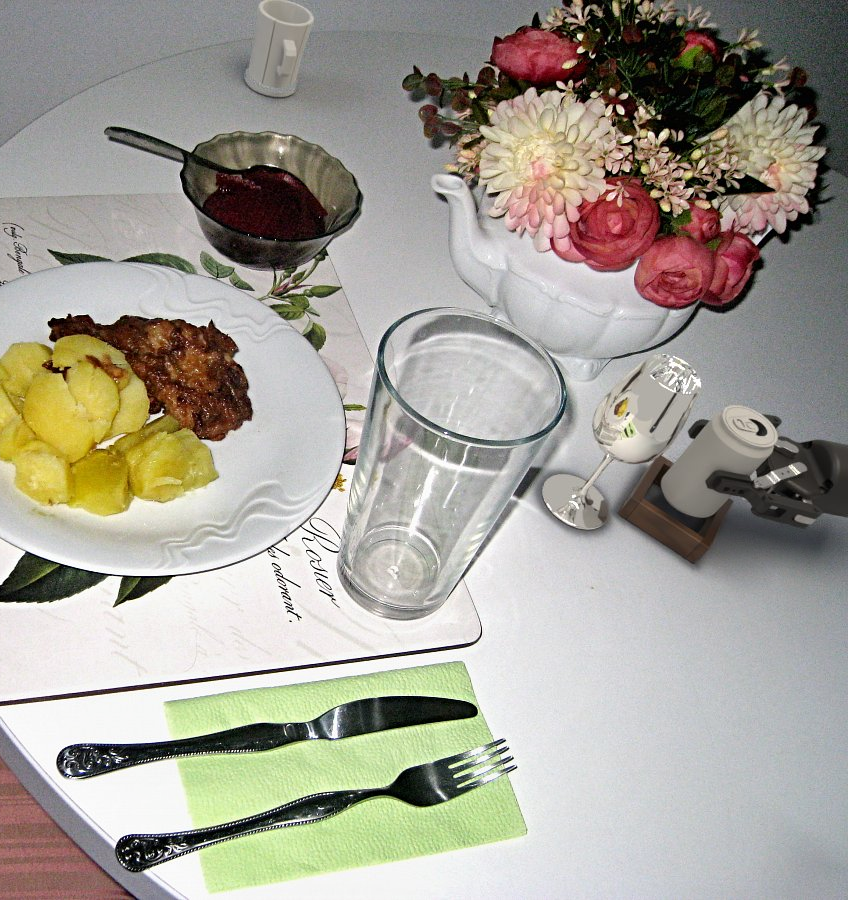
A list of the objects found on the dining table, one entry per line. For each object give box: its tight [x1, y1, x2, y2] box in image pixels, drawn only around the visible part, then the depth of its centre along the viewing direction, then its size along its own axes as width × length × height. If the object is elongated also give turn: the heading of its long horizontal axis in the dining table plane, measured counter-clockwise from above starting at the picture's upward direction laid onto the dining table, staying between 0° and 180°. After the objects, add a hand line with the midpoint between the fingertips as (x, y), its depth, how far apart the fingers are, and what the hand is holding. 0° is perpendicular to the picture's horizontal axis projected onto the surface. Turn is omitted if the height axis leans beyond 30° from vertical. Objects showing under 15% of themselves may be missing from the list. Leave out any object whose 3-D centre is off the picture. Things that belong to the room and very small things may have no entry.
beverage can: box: [660, 404, 778, 519], centre depth 94 cm, size 6×6×12 cm
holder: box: [617, 454, 734, 565], centre depth 99 cm, size 9×9×3 cm
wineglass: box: [541, 352, 703, 530], centre depth 91 cm, size 8×8×20 cm
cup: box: [243, 0, 315, 98], centre depth 143 cm, size 10×9×12 cm
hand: (701, 453), depth 93 cm, fingers closed on beverage can, 6 cm apart
